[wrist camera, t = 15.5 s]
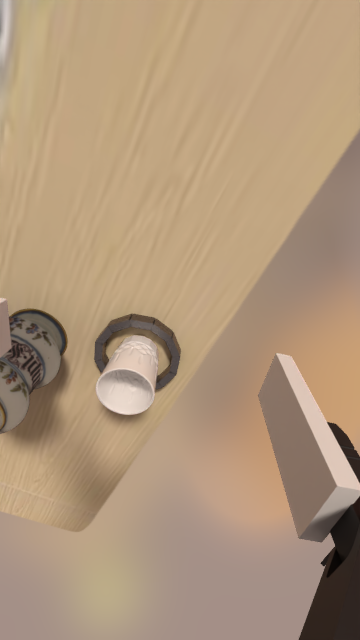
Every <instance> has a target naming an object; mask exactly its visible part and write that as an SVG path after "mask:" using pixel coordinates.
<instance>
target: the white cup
mask: <svg viewBox="0 0 360 640" xmlns="http://www.w3.org/2000/svg"><path fill="white" fill-rule="evenodd" d="M158 358H159V352H158V348H157V346H156V345H155V344H154V342H153V341H152V340H151V339H149V338H147V337H144V336H139V335H133V336H130V337H127V338H125V339H124V340H123V341H122V342H121V343H120V345H119V346H118V348H117V349H116V351H115V352H114V354H113V355H112V357H111V358H110V360H109V362H108V363H107V365H106V367H105V369H104V370H103V372H102V374H101V375H100V377H99V379H98V381H97V383H96V394H97V397H98V399H99V400H100V402H101V403H102V404H103V405H104V406H105V407H106V408H108V409H109V410H111V411H113V412H116V413H119V414H124V415H134V414H138V413H141V412H143V411H145V410H147V409H148V408H149V407H150V406H151V404H152V403H153V400H154V396H155V388H156V381H157V371H158Z"/></svg>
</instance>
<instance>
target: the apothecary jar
mask: <svg viewBox="0 0 360 640" xmlns="http://www.w3.org/2000/svg"><path fill="white" fill-rule="evenodd" d="M9 326H10V337H11V347H12V348H11V349H10V350H8V351H7V352H6V353H5V354H4V355H3V356H2V357H1V358H0V434H1V433H5V432H7V431H9V430H11V429H13V428H15V427H16V426H17V425H19V424H20V423H21V422H22V420H23V419H24V417H25V416H26V414H27V411H28V408H29V403H30V397H29V395H30V394H31V392H32V391H33V390H34V389H38V388H40V387H43V386H45V385H47V384H48V383H50V382H51V381H52V380H53V379H54V378H55V376H56V375H57V373H58V371H59V368H60V363H61V357H60V356H61V355H62V354H63V353H64V351H65V350H66V347H67V335H66V332H65V330H64V328H63V326H62V325H61V324H60V322H59V321H58V320H56V319H55V318H54V317H53V316H51V315H50V314H48V313H46V312H43V311H41V310H36V309H23V310H19V311H17V312H15V313H14V314H12V315H11V316H10V317H9Z"/></svg>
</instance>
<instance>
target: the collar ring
mask: <svg viewBox="0 0 360 640" xmlns="http://www.w3.org/2000/svg"><path fill="white" fill-rule="evenodd" d="M154 319H155V318H153V317H148V316H142V315H137V314H133V315H132V314H130V315H127V316H124V317H120V318H117V319H114V320H112V321H111V322H110V323H109V324H108V325H107V326H106V328H105V329H104V330H103V331H102V333H101V334H100V335H99V337H98V338H97V340H96V342H95V358H94V360H95V362H96V364H97V366H98V367H99V369H100V371H101V373H102V372H103V370H104V369H105V367H106V365H107V363H108V362H109V359H108V357H107V355H106V340H107V339H108V338H109V337H110V336H111V334H112V333H113V332H116V331H119V330H122V329H126V328H129V327H135V328H140V329H146V330H151V331H152V332H153V333H155V334H156V335H157V336H159V337H160V338H161V339H163V340H164V341H165V342H166V344H167V346H168V348H169V350H170V353H171V355H172V359H171V364H170V366H168V367H167V368H166V369H165V370H164V371H163V372H162V373H161V374H160V375H158V376H157V381H156V388H155V389H159V388H162V387H164V386H165V385H166V384H167V383H168V382H169V381H170V380H171V379H172V378H173V377H174V376H176V374H177V369H178V365H179V360H180V353H181V349H180V347H179V344H178V342H177V339H176V337H175V335H174V332H173V331H172V330H171V329H169V328H168V327H167V326H165V325H164V324H163V323H161V322H160V321H159V320H157V319H155V320H154Z"/></svg>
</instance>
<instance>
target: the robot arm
mask: <svg viewBox="0 0 360 640" xmlns="http://www.w3.org/2000/svg"><path fill="white" fill-rule="evenodd" d="M11 348H12V347H11V337H10V326H9V315H8V305H7V299H3V298H0V358H1V357H2V356H3V355H4V354H5V353H6V352H7V351H8V350H10V349H11ZM258 397H259V401H260V404H261V408H262V411H263V415H264V418H265V422H266V425H267V429H268V432H269V435H270V439H271V443H272V446H273V450H274V453H275V456H276V460H277V463H278V467H279V471H280V474H281V478H282V481H283V485H284V488H285V492H286V495H287V499H288V502H289V506H290V510H291V513H292V516H293V520H294V523H295V527H296V531H297V534H298V538H299V539H305V540H311V541H317V542H322V541H323V540H324V539H325V538H326V537H327V535H328V534H329V533H331V535H332V538H333V541H334V543H335V547H334V548H333V549H332V550H331V552H330V553H329V554H328V555H327V556H326V557H325V558H324V560H323V561H322V562H321V564H322V565H323V566H325V565H326V566H325V569H324V572H323V575H322V577H321V580H320V583H319V586H318V588H317V591H316V594H315V596H314V599H313V602H312V605H311V607H310V610H309V613H308V616H307V618H306V621H305V624H304V626H303V629H302V632H301V635H300V638H299V640H360V456H359V455H358V453H357V451H356V450H354V446H353V445H352V443H351V441H350V440H349V438H348V436H347V435H346V434H345V433H344V432H343V431H342V430H341V429H340V428H339V427H338V426H337V425H336V424H334V423H329V422H326V420H325V418H324V416H323V414H322V412H321V411H320V409H319V407H318V405H317V403H316V401H315V399H314V398H313V396H312V394H311V392H310V390H309V388H308V386H307V385H306V383H305V381H304V379H303V377H302V375H301V374H300V372H299V370H298V368H297V366H296V364H295V362H294V361H293V359H292V357H291V356H288V355H283V354H278V353H276V354H275V357H274V359H273V361H272V364H271V366H270V369H269V371H268V373H267V376H266V378H265V380H264V383H263V385H262V388H261V390H260V392H259V394H258Z"/></svg>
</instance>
